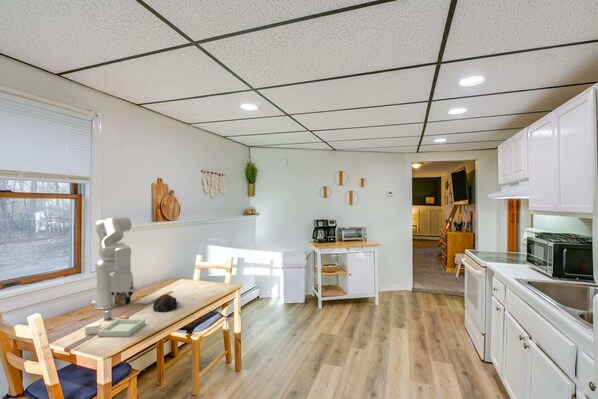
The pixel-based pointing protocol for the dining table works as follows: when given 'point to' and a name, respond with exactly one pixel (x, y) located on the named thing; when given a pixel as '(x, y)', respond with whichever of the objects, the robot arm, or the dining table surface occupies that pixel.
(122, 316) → the peach rounded capsule
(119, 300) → the walnut block
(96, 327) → the cream block
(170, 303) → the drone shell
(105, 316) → the grey cylinder
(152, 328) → the dining table surface
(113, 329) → the tray
